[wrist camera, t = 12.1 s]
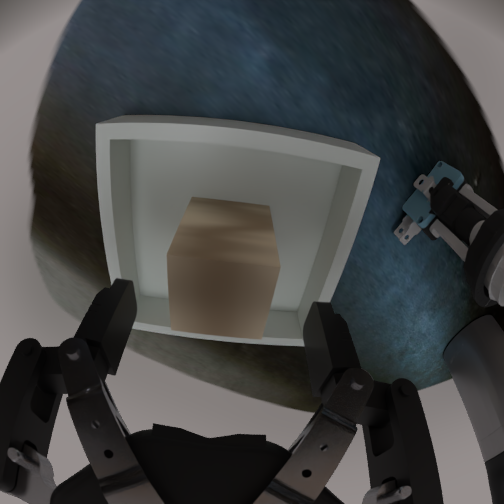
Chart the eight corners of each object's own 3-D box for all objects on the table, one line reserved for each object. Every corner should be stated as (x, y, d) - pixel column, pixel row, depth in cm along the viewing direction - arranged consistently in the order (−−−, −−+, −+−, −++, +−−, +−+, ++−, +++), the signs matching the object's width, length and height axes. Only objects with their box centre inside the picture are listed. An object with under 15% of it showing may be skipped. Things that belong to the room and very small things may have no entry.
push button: (410, 248, 19) (478, 347, 10) (369, 210, 17) (450, 319, 9) (462, 187, 16) (552, 262, 7) (428, 139, 14) (544, 204, 6)
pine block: (269, 205, 16) (280, 267, 11) (257, 268, 18) (261, 339, 13) (191, 196, 15) (166, 254, 10) (189, 260, 18) (171, 330, 13)
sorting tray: (355, 143, 15) (380, 158, 12) (302, 312, 22) (309, 346, 19) (124, 115, 13) (96, 123, 10) (134, 294, 21) (121, 326, 18)
